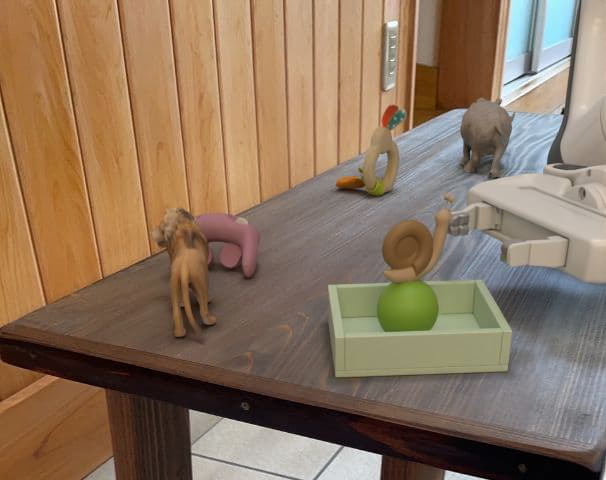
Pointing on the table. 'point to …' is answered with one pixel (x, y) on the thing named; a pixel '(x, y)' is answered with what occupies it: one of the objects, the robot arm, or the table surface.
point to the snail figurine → (411, 274)
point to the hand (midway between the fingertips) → (474, 239)
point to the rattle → (379, 145)
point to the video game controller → (231, 240)
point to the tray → (418, 333)
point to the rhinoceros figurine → (485, 134)
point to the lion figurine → (185, 265)
